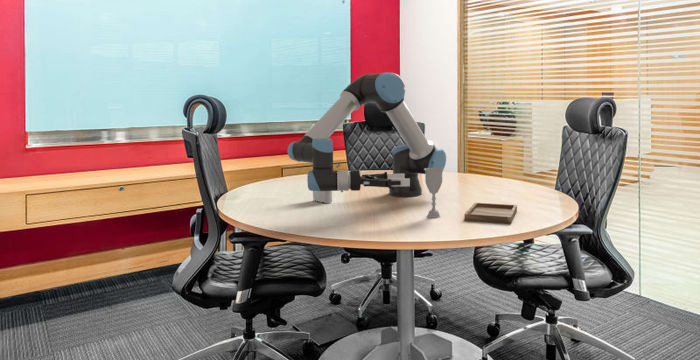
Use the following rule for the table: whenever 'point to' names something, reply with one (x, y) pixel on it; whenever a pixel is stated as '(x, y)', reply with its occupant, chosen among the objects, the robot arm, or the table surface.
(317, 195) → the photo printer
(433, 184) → the chalice
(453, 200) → the table surface
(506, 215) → the tray
